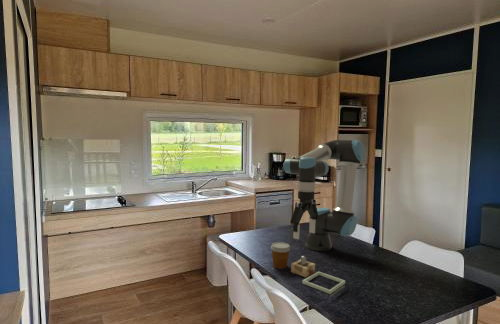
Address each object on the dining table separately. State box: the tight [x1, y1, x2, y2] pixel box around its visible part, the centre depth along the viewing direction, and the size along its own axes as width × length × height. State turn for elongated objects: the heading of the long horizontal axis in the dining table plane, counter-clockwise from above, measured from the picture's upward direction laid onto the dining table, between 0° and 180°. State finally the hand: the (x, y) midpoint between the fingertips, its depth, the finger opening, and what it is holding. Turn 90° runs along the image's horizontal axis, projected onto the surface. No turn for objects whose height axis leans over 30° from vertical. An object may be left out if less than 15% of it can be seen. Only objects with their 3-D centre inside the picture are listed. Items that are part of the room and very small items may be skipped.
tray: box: [301, 271, 346, 298], centre depth 139 cm, size 13×13×3 cm
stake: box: [300, 255, 307, 266], centre depth 150 cm, size 7×7×9 cm
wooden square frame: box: [290, 258, 316, 278], centre depth 149 cm, size 8×9×4 cm
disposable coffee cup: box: [270, 241, 291, 270], centre depth 156 cm, size 10×10×12 cm
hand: (304, 235), depth 148 cm, fingers open, 13 cm apart
